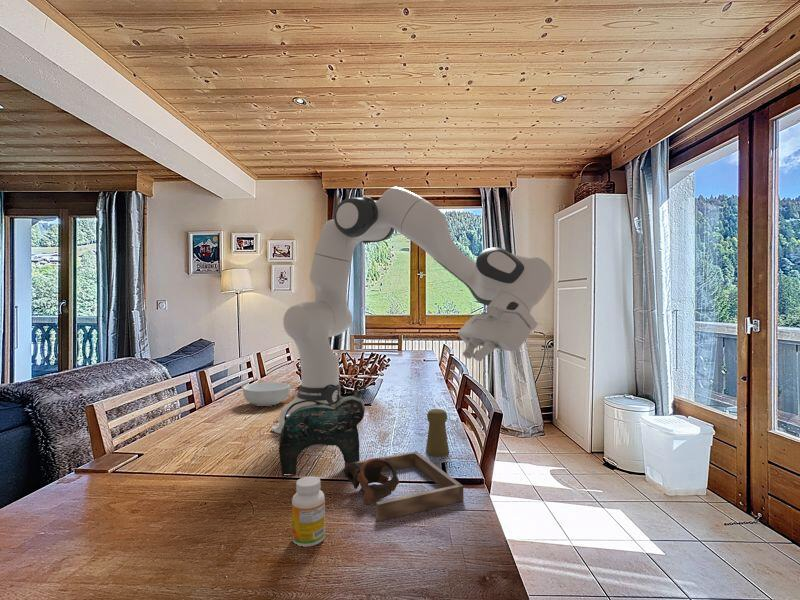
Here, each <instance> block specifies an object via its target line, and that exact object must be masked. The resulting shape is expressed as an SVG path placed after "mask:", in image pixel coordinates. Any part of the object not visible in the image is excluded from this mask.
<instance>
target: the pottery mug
mask: <svg viewBox="0 0 800 600" xmlns="http://www.w3.org/2000/svg"><path fill="white" fill-rule="evenodd" d="M366 460H367V461H366V462H365V463H364V464H363V465H359V464H357V463H352V462H351V463H348V464H346V466H345V465H344V468H343V473H344V474H343V475H344V477H345V476H346V478H347V480H348V481H349V483H351V484H352V486H353V488H354V490H357V489H358V487H361V488H362V490H363V491H364V495H363V497H362V501H363V502H364V503H365V504H367V505H371V504H372V503H373V501H374V502H375V501H376V502H377V501H379V500H381V499H384V498H386V497H389V496H390V495H392V492H395V490H396V489H397V486H398V485H400V481H399V480H400V479H399V477H398V475H397V469H395V466H394V465H393V464H392V463H391V462H389V461H388V460H385V459H382V458H380V457H373V458H370V459H366ZM386 466H388V467H389V468H390V469H391V470H390V471H391V474H392V476H391V479H390V477H388V476H387V475H385V474H383V472H381V470H382V468H383V467H386ZM346 478H345V479H346ZM389 479H390V480H389ZM374 483H379V484H374ZM369 484H372V486H373V487H370V486H369Z"/></svg>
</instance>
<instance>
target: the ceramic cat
mask: <svg viewBox="0 0 800 600" xmlns="http://www.w3.org/2000/svg"><path fill="white" fill-rule="evenodd" d="M330 386H333V387H335V388H336V389H337V390H338V388H337V387H336V386H335V385H332V384H330V385H327V386H325V387H324V389H323V391H324V390H325V389H326V388H327V387H330ZM303 402H315V403H316V404H313V405H309V406H303V407H300V408H298V409H297V410H295V411H293V412H292V413H291V414H290V415H289V416H288V418H286V416H287V413H288V412H289V410H290V409H291V408H292V407H293V406H295V405H296V404H299V403H303ZM334 403H336V404H335V405H332V404H334ZM365 407H366V406H365V402H364V401H363V399H362V395H361V392H360V391H359V390H357V391H355V392H354V394H353V395H348V396H342V395H341V394H340V395H339V390H338V394H337V400H336V401H335V402H333V403H330V404H327V403H321V402H317V401H314V400H304V401H299V402H297V403H294V404H292V405H291V406H290V407H289V409H288V410H287V412H286V414H285V418H284V420H285V423H284V426H283V428H282V431H281V434H280V435H279V445H278V446H279V447H278V454H279V461H280V469H281V475H282V476H283V475H284V474H295V475H296V474H297V466H298V465H297V464H298V457H299V456H300V454H301V453H302V452H303V451H304V450H305V449H308V448H309V447H311V446H317V445H318V446H319V445H320V446H336V447H337V448H338V449H339V450H340V452H341V454H342V456H343V461H344V464H345V463H351V462H357V461H360V447H361V446H360V438H359V436H360V435H359V430H358V425H359V424H360V423H361V422H362V421H363V419H364V416H365Z"/></svg>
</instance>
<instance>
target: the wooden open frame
mask: <svg viewBox="0 0 800 600" xmlns="http://www.w3.org/2000/svg"><path fill="white" fill-rule="evenodd" d="M379 458H382V459H385V460H388V461H389V462H391V463H392V464H393V465H394V466H395V469H396V470H399V469H405V468H410V467H415V468H417V469H418V470H420V472H422V473H423V474H424V475H425V476H427V477H428V478H429V479H430V480H432V481H433V482H434V483H435V484H436V485H437V486H439V487H440V488H436V489H431V490H428V491H422V492H417V493H412V494H407V495H403V496H399V497H394V498H390V499H385V500H381V501H376V502H375V507H376V508H375V509H376V510H375V513H376V514H375V517H376V518H375V519H376V520H377V522H380V521H385V520H388V519H393V518H397V517H402V516H405V515H406V516H407V515H411V514H414V513H415V514H416V513H419V512H424V511H427V510H431V509H436V508H439V507H444V506H449V505H453V504H457V503H461V502H464V485H463V484H462V483H460V482H459V481H457V480H456V479H455V478H453V477H452V476H450V475H449V474H448V473H447V472H445V471H444V470H443V469H441V467H438V466H437V465H435V464H434V463H433V462H432V461H430V460H429V459H428V458H426V457H425V456H423V454H421V453H420V452H418V451H417V450H416V451H412V452H411V451H410V452H405V453H399V454H394V455H393V454H391V455H387V456H382V457H381V456H380V457H379ZM367 460H368V459H363V460H359V461H357V462H352V463H357V464H359V465H363V464H364V463H365V462H366V461H367ZM346 464H348V463H345V462H344V467H345V466H346ZM389 471H391V469H390V468H389V467H388V466H386V467H383V468H382V470H381V473H384V472H389ZM344 478H345V479H346V476H345V475H344Z"/></svg>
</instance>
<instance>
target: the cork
mask: <svg viewBox="0 0 800 600" xmlns="http://www.w3.org/2000/svg"><path fill="white" fill-rule="evenodd" d="M426 417H427V418H426V419H427V421H428V423H429V424H428V430H427V431H428V432H427V439H426V447H425V453H426V455H429V456H431V457H444V456H447V455H449V453H450V450H449V442H448V435H447V428H446V422H447V420H448V414H447V411H445V410H444V409H440V408H432V409H430V410H428V412H427V415H426Z"/></svg>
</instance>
